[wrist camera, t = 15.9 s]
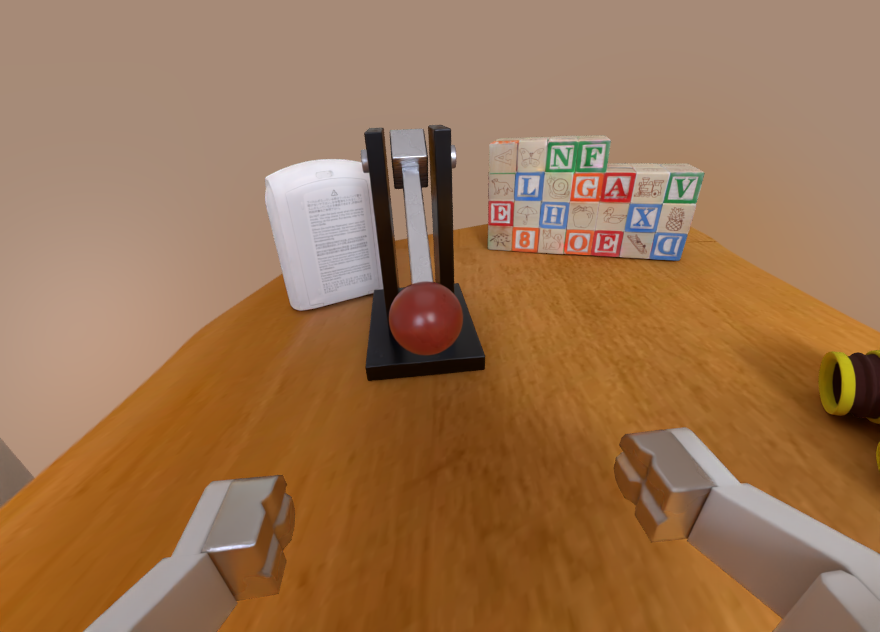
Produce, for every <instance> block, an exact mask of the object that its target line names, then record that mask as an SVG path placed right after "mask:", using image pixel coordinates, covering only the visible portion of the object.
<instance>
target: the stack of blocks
mask: <svg viewBox="0 0 880 632" xmlns="http://www.w3.org/2000/svg"><path fill="white" fill-rule="evenodd" d="M610 143H611V140H610V139H608V138H607V137H606V136H556V137H555V136H554V137H534V138H501V139H497V140H495V141H494V142H492V143H490V150H489V177H488V179H489V183H488V186H489V189H488V199H489V202H488V204H489V207H488V210H489V211H488V212H489V213H488V221H489V222H488V225H489V226H488V249H490V250H506V251H518V252H538V253H553V254H577V255H595V256H612V257H618V256H619V257H627V258H644V259H657V260H674V261H679V260H680V258H681V255H682V252H683V248H684V245H685V242H686V239H687V233H688V232H689V229H690V226H691V222H692V219H693V215H694V211H695V208H696V202H697V199H698V195H699V192H700V188H701V184H702V181H703V177H704V172H702V171H701V170H699V169H698V168H695V167H693V166H691V165H689V164H608V156H609V150H610Z"/></svg>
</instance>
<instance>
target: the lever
mask: <svg viewBox="0 0 880 632" xmlns="http://www.w3.org/2000/svg"><path fill="white" fill-rule="evenodd" d="M390 145H391V158H392V168H393V178H394V187H395V189H403V193H404V203H405V214H406V227H407V237H408V249H409V261H410V272H411V283H412V284H411V285H409V286H407V287H405V288H404V289H403V290H402V291H400V292H399V294H398V295H397V296H396V297H395V299H394V301H393V303H392V305H391V308H390V312H389V325H390V329H391V332H392V334H393V336H394V338H395V339H396V341H397V342H398V343H399V344H400V345H401V346H402V347H403V348H405V349H406V350H408V351H410V352H412V353H414V354H418V355H434V354H438V353H440V352H442V351H444V350H446V349H447V348H449V347H450V346H451V345H452V344H453V343H454V342H455V341H456V339H457V338H458V336H459V334H460V331H461V328H462V324H463V313H462V308H461V305H460V303H459V301H458V299H457V297H456V296H455V295H454V294H453V293H452V292H451V291H450V290H449V289H448V288H446V287H445V286H443V285H441V284H438V283H435V282H433V274H432V266H431V258H430V250H429V242H428V234H427V227H426V218H425V210H424V202H423V195H422V187H428V155H427V148H426V141H425V134H424V129H407V130H390Z"/></svg>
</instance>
